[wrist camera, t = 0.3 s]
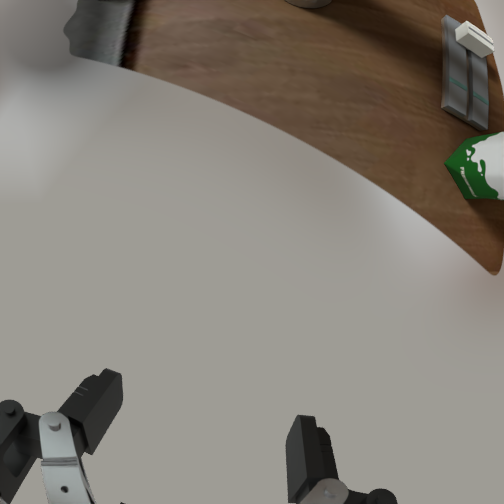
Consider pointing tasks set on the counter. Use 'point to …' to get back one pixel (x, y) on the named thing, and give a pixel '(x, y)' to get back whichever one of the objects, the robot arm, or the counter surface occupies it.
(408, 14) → the counter surface
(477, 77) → the slider panel
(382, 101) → the counter surface
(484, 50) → the slider knob
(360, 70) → the counter surface
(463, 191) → the milk carton
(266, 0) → the counter surface
